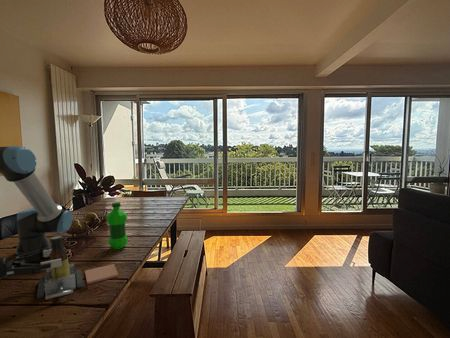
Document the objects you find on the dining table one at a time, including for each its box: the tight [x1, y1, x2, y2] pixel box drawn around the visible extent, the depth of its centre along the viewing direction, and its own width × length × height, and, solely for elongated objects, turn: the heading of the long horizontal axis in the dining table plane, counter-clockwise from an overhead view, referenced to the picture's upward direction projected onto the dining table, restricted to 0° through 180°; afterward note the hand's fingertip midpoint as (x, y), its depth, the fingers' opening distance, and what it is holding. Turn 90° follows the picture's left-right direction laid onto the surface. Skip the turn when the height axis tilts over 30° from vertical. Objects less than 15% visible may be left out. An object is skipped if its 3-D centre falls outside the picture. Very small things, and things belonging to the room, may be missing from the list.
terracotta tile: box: [84, 263, 119, 285], centre depth 115 cm, size 12×12×1 cm
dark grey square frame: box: [36, 262, 84, 300], centre depth 104 cm, size 21×15×5 cm
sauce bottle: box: [48, 235, 70, 279], centre depth 107 cm, size 6×6×20 cm
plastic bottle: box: [106, 201, 129, 250], centre depth 145 cm, size 10×10×25 cm
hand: (61, 256), depth 107 cm, fingers open, 13 cm apart
